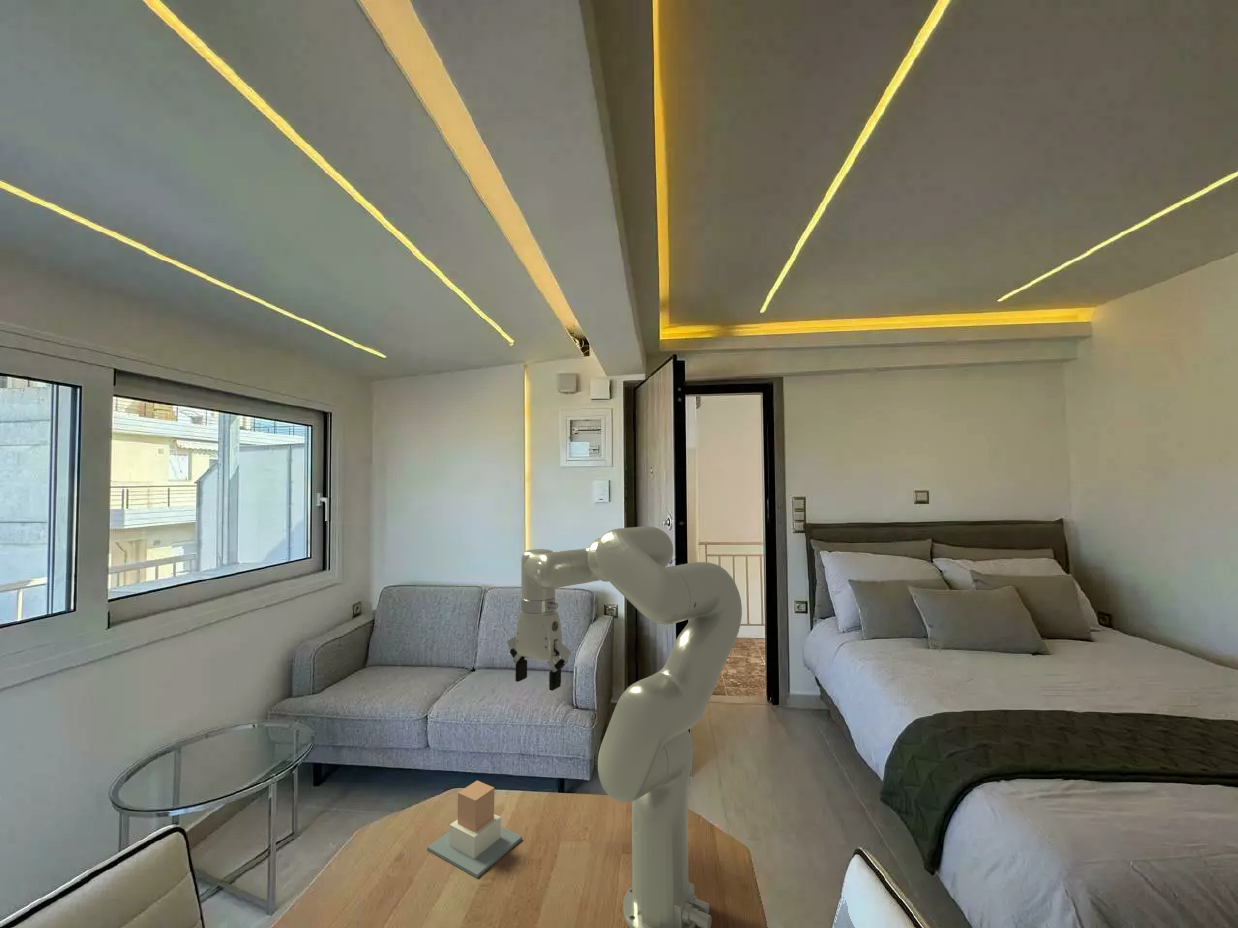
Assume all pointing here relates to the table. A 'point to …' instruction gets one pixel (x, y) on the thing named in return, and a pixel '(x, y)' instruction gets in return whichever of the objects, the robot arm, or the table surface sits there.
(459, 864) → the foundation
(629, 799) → the robot arm
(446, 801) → the table surface
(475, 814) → the terracotta block
